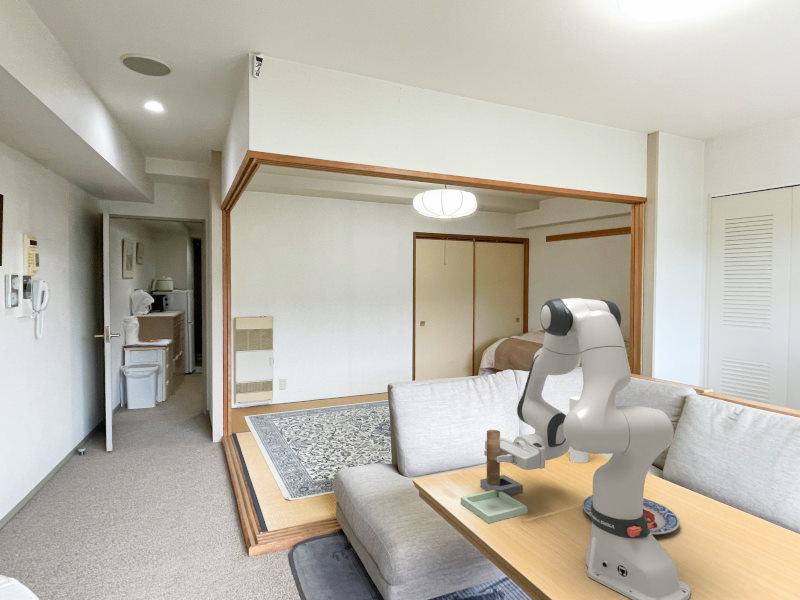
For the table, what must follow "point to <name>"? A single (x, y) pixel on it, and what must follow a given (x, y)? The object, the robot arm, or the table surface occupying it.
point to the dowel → (493, 457)
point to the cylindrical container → (574, 454)
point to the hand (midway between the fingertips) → (490, 456)
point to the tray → (493, 506)
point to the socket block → (503, 486)
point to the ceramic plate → (650, 515)
